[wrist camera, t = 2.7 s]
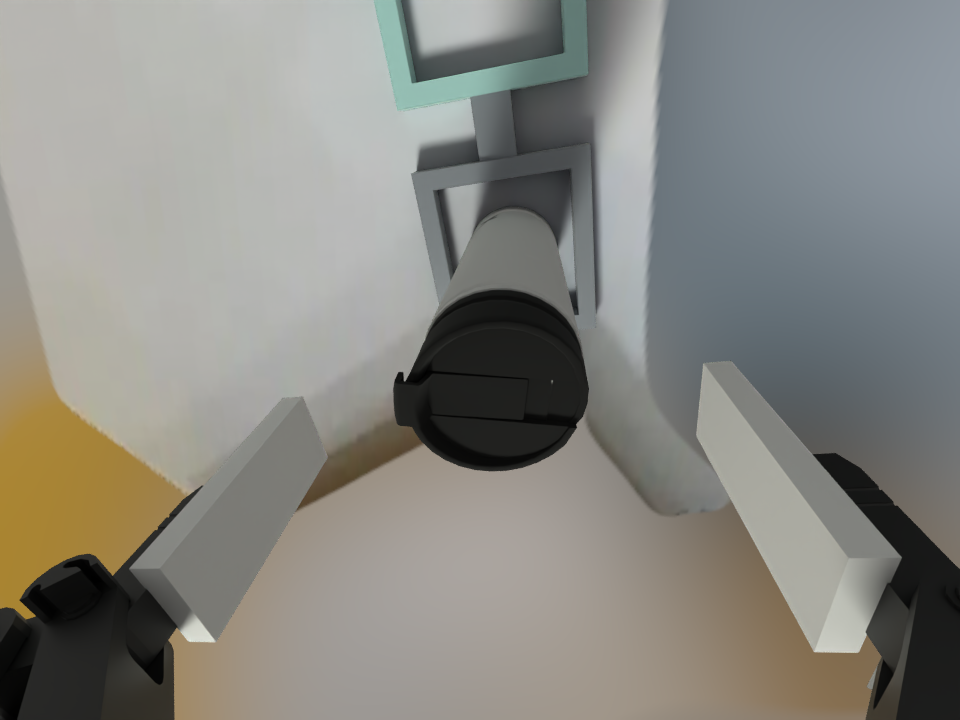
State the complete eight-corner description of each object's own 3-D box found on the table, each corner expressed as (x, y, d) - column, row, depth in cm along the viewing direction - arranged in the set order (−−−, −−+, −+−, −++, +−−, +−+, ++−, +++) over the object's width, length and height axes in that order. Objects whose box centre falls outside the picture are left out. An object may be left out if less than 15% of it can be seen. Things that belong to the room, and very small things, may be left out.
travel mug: (467, 201, 30) (384, 316, 12) (562, 209, 29) (614, 337, 12) (464, 287, 33) (394, 474, 15) (550, 294, 32) (577, 495, 15)
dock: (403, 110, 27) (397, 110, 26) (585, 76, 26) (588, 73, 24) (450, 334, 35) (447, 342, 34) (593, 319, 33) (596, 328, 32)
